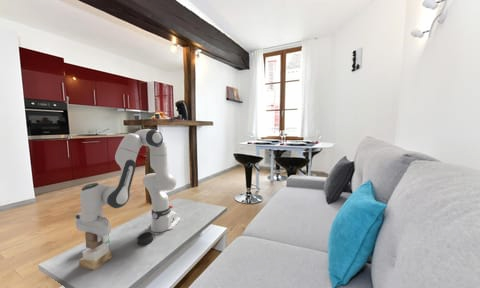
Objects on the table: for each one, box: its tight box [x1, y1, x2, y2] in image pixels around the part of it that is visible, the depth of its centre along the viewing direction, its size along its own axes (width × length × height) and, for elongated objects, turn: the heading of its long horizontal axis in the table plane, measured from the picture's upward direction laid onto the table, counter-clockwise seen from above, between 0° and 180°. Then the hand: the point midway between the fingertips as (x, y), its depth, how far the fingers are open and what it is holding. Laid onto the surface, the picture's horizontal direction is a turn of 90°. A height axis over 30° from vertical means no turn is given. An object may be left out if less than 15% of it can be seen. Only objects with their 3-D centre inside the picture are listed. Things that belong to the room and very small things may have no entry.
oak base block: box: [78, 250, 112, 271], centre depth 103 cm, size 10×10×4 cm
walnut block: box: [84, 232, 103, 249], centre depth 101 cm, size 5×5×8 cm
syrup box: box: [102, 233, 110, 244], centre depth 117 cm, size 6×6×14 cm
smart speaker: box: [137, 231, 154, 246], centre depth 121 cm, size 9×9×4 cm
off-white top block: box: [82, 243, 110, 261], centre depth 103 cm, size 8×8×4 cm
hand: (94, 239), depth 101 cm, fingers closed on walnut block, 5 cm apart
